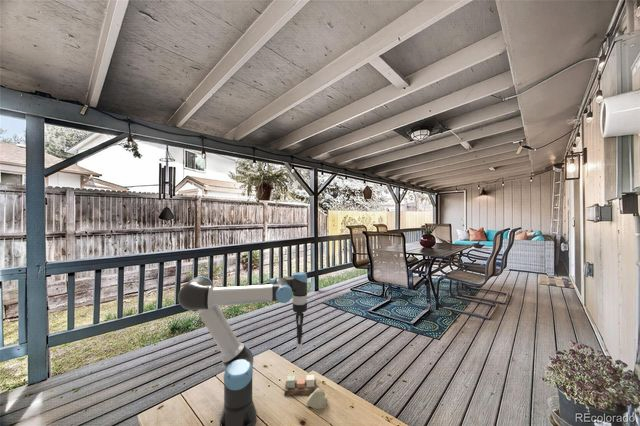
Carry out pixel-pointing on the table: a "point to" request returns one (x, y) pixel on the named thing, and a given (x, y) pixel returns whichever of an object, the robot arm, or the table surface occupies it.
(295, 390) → the walnut board
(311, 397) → the grey rounded lump
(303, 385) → the button terracotta
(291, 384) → the button sage
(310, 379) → the button cream
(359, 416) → the table surface
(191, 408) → the table surface
